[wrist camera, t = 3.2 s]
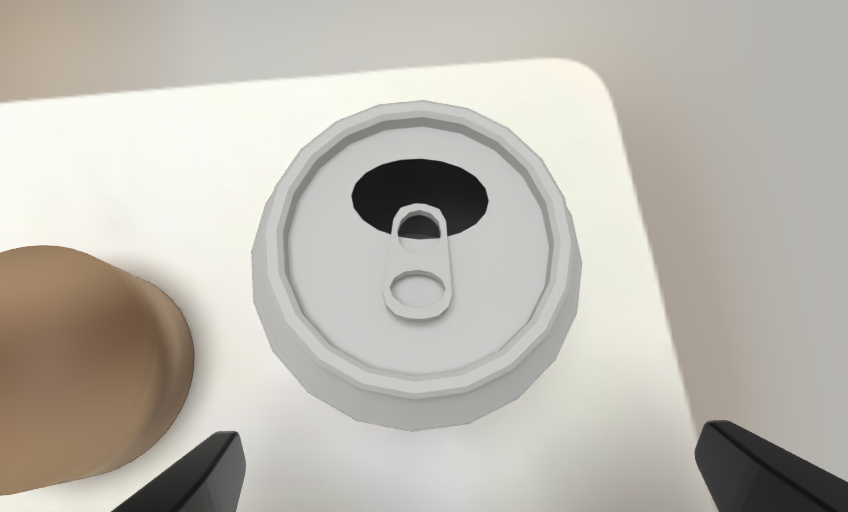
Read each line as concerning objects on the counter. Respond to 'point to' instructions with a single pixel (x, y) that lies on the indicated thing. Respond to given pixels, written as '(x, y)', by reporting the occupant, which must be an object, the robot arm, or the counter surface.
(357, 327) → the can
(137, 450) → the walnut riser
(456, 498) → the counter surface
